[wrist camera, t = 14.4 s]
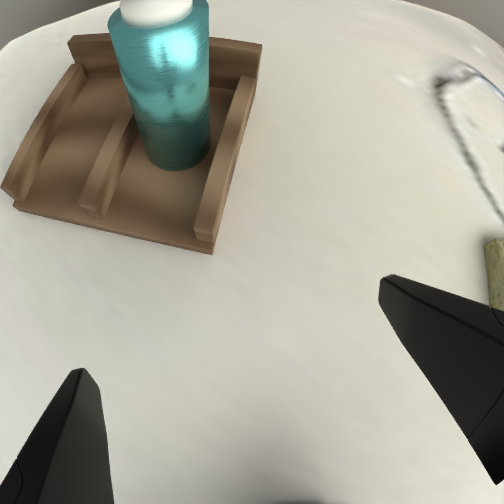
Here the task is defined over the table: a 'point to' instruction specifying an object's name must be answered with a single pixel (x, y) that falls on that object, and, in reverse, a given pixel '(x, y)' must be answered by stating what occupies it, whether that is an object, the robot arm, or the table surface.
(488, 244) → the decorative tile
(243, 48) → the rack
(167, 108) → the spray can
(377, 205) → the table surface
